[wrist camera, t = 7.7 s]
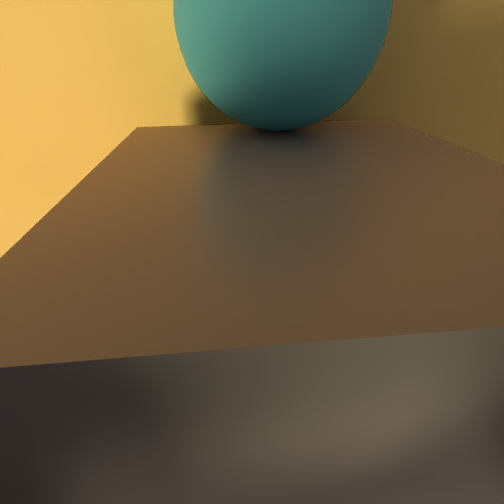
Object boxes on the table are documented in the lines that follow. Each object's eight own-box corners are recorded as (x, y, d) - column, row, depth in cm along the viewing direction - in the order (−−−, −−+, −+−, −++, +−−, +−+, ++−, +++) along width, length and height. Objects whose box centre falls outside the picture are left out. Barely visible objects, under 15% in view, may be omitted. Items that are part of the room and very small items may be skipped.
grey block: (387, 119, 10) (839, 299, 3) (351, 306, 14) (498, 584, 7) (137, 127, 10) (-125, 377, 2) (173, 319, 14) (122, 637, 6)
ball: (356, -68, 9) (485, -222, 5) (337, 122, 11) (412, 140, 7) (176, -74, 9) (130, -248, 4) (191, 124, 11) (172, 145, 7)
